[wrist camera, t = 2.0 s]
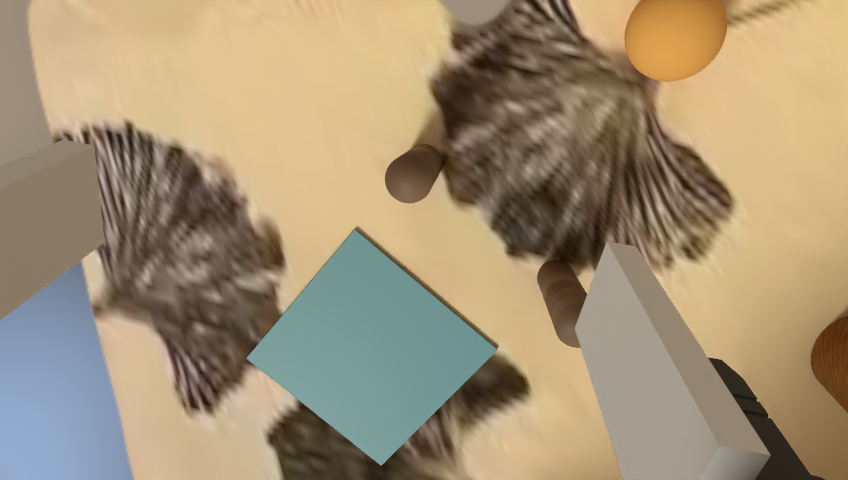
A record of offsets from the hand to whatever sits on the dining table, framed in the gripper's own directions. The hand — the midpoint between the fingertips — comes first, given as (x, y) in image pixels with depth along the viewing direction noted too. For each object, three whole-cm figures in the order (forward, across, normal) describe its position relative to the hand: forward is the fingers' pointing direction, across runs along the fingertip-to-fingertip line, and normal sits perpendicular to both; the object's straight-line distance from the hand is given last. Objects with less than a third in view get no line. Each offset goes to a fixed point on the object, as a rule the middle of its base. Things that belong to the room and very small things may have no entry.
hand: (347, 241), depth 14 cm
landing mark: (+21, 0, +20) cm, 29 cm away
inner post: (+22, -12, +12) cm, 28 cm away
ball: (+22, -15, -6) cm, 27 cm away
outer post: (+24, -2, +6) cm, 25 cm away
